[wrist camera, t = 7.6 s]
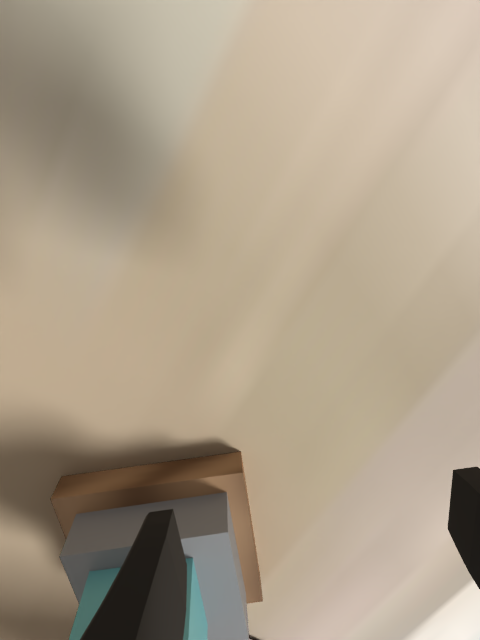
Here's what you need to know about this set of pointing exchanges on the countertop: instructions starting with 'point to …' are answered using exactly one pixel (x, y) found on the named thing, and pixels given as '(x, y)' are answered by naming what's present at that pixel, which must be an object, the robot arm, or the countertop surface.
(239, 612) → the grey top slab
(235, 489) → the walnut base slab
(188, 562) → the teal block
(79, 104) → the countertop surface
